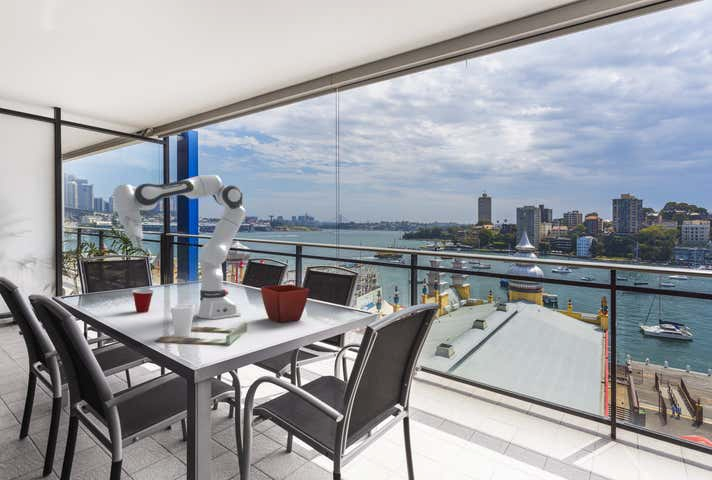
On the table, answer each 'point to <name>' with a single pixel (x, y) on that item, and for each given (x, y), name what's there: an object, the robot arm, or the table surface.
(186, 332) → the foam cup
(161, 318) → the table surface
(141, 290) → the plastic cup
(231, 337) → the runway box
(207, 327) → the trap pads
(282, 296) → the plant pot
